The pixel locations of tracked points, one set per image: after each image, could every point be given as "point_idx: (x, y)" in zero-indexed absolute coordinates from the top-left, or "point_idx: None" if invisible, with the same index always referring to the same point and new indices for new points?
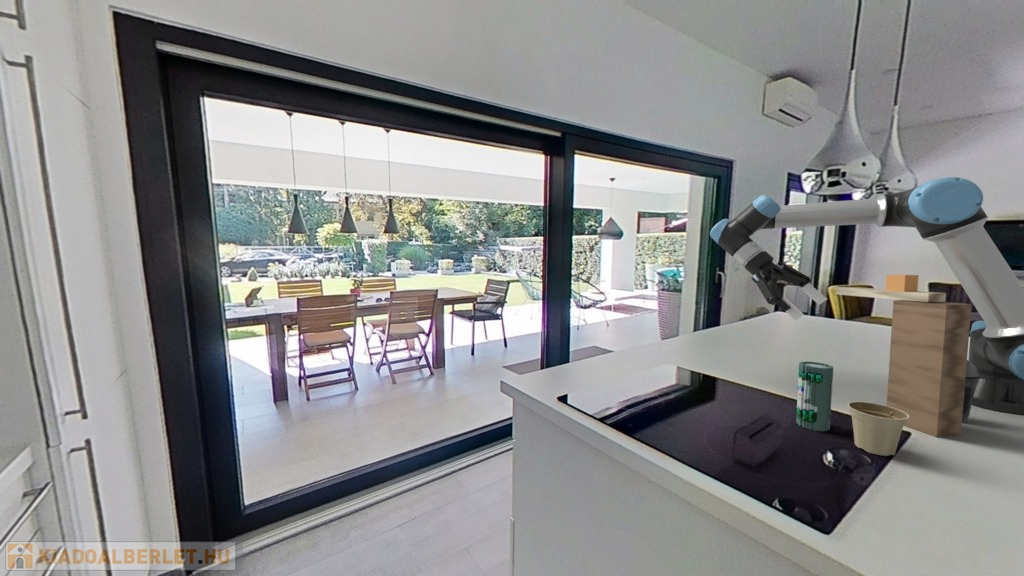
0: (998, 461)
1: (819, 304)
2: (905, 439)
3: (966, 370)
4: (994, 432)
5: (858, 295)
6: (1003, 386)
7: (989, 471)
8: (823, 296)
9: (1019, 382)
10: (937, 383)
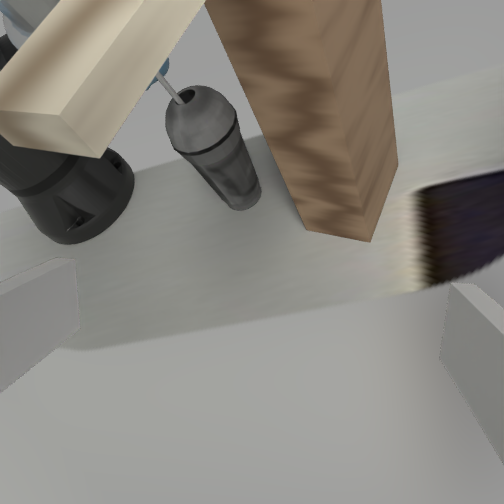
0: (431, 96)
1: (78, 324)
2: (478, 176)
3: (221, 94)
4: None
5: (179, 31)
6: None
7: (500, 83)
8: (48, 267)
9: None
10: (386, 77)
